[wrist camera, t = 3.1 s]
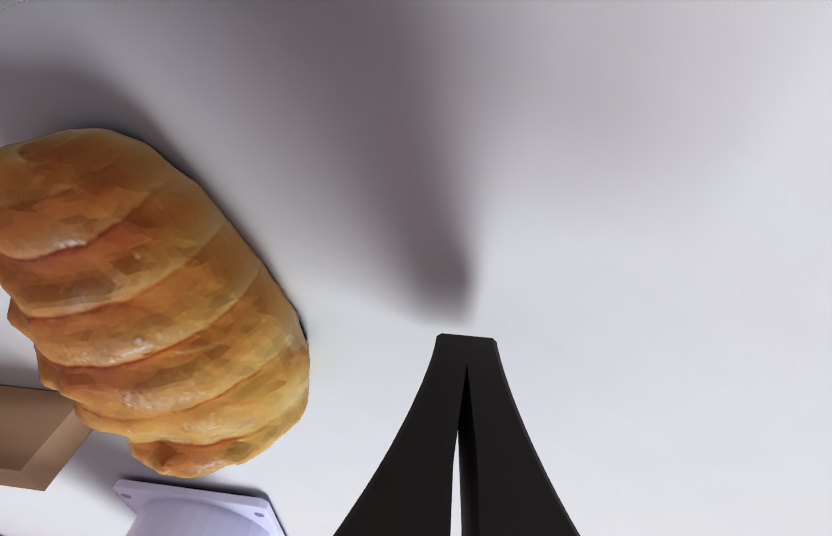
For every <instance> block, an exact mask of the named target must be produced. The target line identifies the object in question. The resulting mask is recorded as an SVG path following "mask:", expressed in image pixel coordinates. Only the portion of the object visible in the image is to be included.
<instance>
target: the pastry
mask: <svg viewBox="0 0 832 536" xmlns="http://www.w3.org/2000/svg"><path fill="white" fill-rule="evenodd" d="M0 285H1V286H2V288H3V289H4V290H5V291H6V292H7V293H8V294H9V295H10V296H11V299H10V305H9V309H8V314H7V319H8V320H9V322H10V324H11V325H12V326H14V327H15V328H17V329H18V330H19V331H21V332H22V333H23V334H24V335H25V336H27V337H28V338H29V339H30V340H31V341H32V342H33V343H34V348H35V351H36V354H37V361H38V370H39V378H40V382H41V383H42V384H43V385H44V386H45V387H48V388H50V389H53V390H58V391H59V393H60V394H61V395H63V396H65V397H68V398H70V399H72V401H73V406H74V410H75V414H76V416H77V417H78V419H79V420H80V421H81V422H82V423H84V424H85V425H87V426H89V427H91V428H92V429H94V430H96V431H99V432H110V433H114V434H118V435H122V436H125V438H126V440H127V442H128V444H129V447H130V453H131V454H132V455H133V456H134V457H135V458H136V459H138V460H140V461H141V462H142V463H143V464H144V465H146V466H148V467H150V468H152V469H154V470H155V471H156V472H157V473H158V474H161V475H173V476H177V477H180V478H194V477H200V476H204V475H207V474H210V473H213V472H215V471H217V470H219V469H221V468H223V467H225V466H227V465H232V464H237V465H239V464H243V463H245V462H247V461H248V460H250V459H252V458H254V457H255V456H257V455H258V454H260V453H261V452H263V451H264V450H266V449H268V448H269V447H270V446H271V445H272V444H273V443H274V442H275V441H276V440H277V439H278V438H279V437H281V436H282V435H284V434H285V433H286V432H287V431H288V430H289V429H290V428H291V427H292V426H293V425H294V424H296V423H297V422H298V421H299V420H300V418H301V416H302V415H303V413H304V411H305V408H306V406H307V402H308V394H309V369H310V358H309V344H307V342H306V340H305V338H304V335H303V332H302V329H301V326H300V323H299V316H298V314H297V313H296V311H295V309H294V308H293V307H292V305H291V304H290V302H289V301H288V299H287V298H286V297H285V295H284V293H283V291H282V289H281V288H280V286H279V284H277V283H276V282H275V281H274V280H273V279H272V277H271V276H270V274H269V272H268V270H267V268H266V267H265V265H264V264H263V262H262V261H261V260H260V259H259V258H258V257H257V256H256V255H255V253H254V252H253V251H252V249H251V248H250V247H249V246H248V245H247V243H246V242H245V241H244V239H243V238H242V237H241V236H240V234H239V233H238V232H237V230H236V229H235V228H234V226H233V225H232V224H231V222H230V221H229V220H228V219H227V217H226V216H225V215H224V214H223V213H222V211H221V210H220V209H219V208H218V206H217V205H216V204H215V203H214V202H213V201H212V200H211V198H210V197H209V196H208V195H207V193H206V192H205V191H204V190H203V189H202V188H201V187H200V186H199V184H198V183H197V182H195V181H194V180H192V179H190V178H189V177H187V176H186V175H184V174H183V173H181V172H180V171H179V170H177V169H176V168H175V167H173V166H172V165H171V164H170V163H169V162H167V161H166V160H165V159H164V158H163V157H162V156H161V155H160V154H159V153H157V152H156V151H155V150H154V149H153V148H152V147H150V146H149V145H148V144H146V143H144V142H142V141H140V140H137V139H134V138H131V137H128V136H125V135H122V134H120V133H117V132H115V131H112V130H108V129H101V128H86V129H67V130H62V131H59V132H56V133H52V134H49V135H46V136H43V137H40V138H36V139H33V140H30V141H26V142H21V143H16V144H11V145H6V146H3V147H1V148H0Z"/></svg>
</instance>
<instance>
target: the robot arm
mask: <svg viewBox="0 0 832 536" xmlns="http://www.w3.org/2000/svg"><path fill="white" fill-rule="evenodd" d="M457 431H458V445H459V472H460V498H461V524H462V536H580V535H579V533H578V531H577V529H576V528H575V526H574V524H573V522H572V521H571V519H570V517H569V515H568V513H567V512H566V510H565V508H564V506H563V504H562V502H561V501H560V499H559V497H558V495H557V493H556V491H555V489H554V487H553V485H552V484H551V482H550V480H549V478H548V476H547V474H546V472H545V470H544V467H543V465H542V463H541V461H540V459H539V457H538V455H537V453H536V451H535V448H534V446H533V444H532V442H531V440H530V437H529V435H528V433H527V431H526V428H525V426H524V423H523V421H522V418H521V416H520V414H519V411H518V409H517V406H516V404H515V401H514V399H513V396H512V393H511V391H510V388H509V385H508V382H507V379H506V376H505V373H504V370H503V366H502V363H501V359H500V356H499V352H498V347H497V342H496V341H495V340H494V339H493V338H485V337H474V336H464V335H454V334H443V333H441V334H440V335H438V336H437V338H436V343H435V347H434V351H433V354H432V358H431V361H430V364H429V366H428V369H427V372H426V374H425V377H424V379H423V382H422V384H421V386H420V388H419V391H418V393H417V395H416V397H415V399H414V402H413V404H412V406H411V408H410V410H409V412H408V414H407V416H406V418H405V420H404V422H403V424H402V426H401V428H400V430H399V431H398V433H397V435H396V437H395V439H394V441H393V443H392V445H391V446H390V448H389V450H388V452H387V453H386V455H385V457H384V459H383V460H382V462H381V464H380V465H379V467H378V469H377V470H376V472H375V473H374V475H373V477H372V478H371V480H370V482H369V483H368V485H367V486H366V488H365V489H364V491H363V493H362V494H361V496H360V497H359V499H358V500H357V502H356V503H355V504H354V506H353V507H352V509H351V510H350V512H349V513H348V515H347V516H346V518H345V519H344V521H343V522H342V524H341V525H340V527H339V528H338V529H337V531H336V532H335V534H334V535H333V536H450V530H451V503H452V478H453V461H454V452H455V445H456V438H457ZM113 490H114V492H115V493H116V494H117V495H118V496H119V497H120V498H121V499H122V500H123V501H124V502H125V503H126V504H127V505H128V506H129V507H130V508H131V509H132V510H133V511H134V512H135V513H136V514H137V515H138V516H137V518H136V520H135V521H134V523H133V525H132V526H131V528H130V530H129V531H128V533H127V535H126V536H285V535H284V533H283V531H282V529H281V527H280V525H279V523H278V521H277V519H276V517H275V515H274V513H273V510H272V508H271V506H270V504H269V503H268V501H266V500H264V499H262V498H256V497H249V496H242V495H234V494H227V493H220V492H212V491H205V490H198V489H190V488H183V487H175V486H168V485H161V484H153V483H146V482H139V481H131V480H124V479H120V480H117V481H116V483H115V484H114V486H113Z"/></svg>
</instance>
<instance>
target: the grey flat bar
mask: <svg viewBox="0 0 832 536" xmlns="http://www.w3.org/2000/svg"><path fill="white" fill-rule="evenodd" d="M22 1H24V0H0V10H1V9H4V8H6V7H9V6H11V5H14V4H17V3H19V2H22Z"/></svg>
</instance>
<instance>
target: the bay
mask: <svg viewBox="0 0 832 536" xmlns="http://www.w3.org/2000/svg"><path fill="white" fill-rule="evenodd" d="M92 430H93V429H92V428H91V427H89V426H87V425H85V424H84V423H82V422H81V421H80V420H79V419H78V417H77V416H76V414H75V410H74V406H73V401H72V399H70V398H68V397H65V396H63V395H61V394H60V393H59V392H54V391H45V390H36V389H28V388H19V387H11V386H2V385H0V485H4V486H11V487H18V488H26V489H33V490H40V491H45V490H46V488H47V487H48V486H49V484H50V483H51V482H52V481H53V479H54V478H55V477H56V476H57V474H58V473H59V472H60V471H61V469H62V468H63V467H64V466H65V464H66V463H67V462H68V461H69V459H70V458H71V457H72V455H73V454H74V453H75V452H76V450H77V449H78V448H79V447H80V445H81V444H82V443H83V442H84V440H85V439H86V438H87V437H88V435H89V434H90V433H91V432H92Z"/></svg>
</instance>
